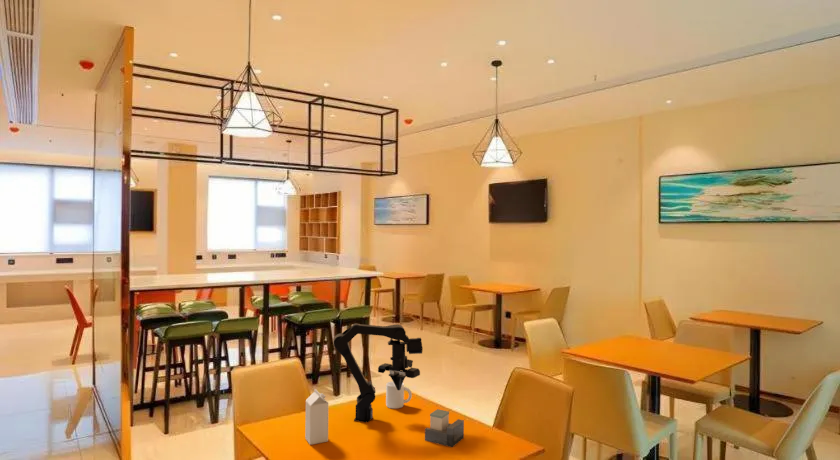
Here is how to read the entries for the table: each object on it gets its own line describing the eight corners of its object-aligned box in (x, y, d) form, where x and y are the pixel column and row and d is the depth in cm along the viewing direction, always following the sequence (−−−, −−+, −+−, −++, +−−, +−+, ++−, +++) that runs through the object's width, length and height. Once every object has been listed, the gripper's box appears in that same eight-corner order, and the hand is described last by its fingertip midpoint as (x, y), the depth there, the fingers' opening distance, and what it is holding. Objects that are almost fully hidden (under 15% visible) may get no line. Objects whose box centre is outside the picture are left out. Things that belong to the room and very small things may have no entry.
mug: (412, 403, 237) (412, 381, 237) (410, 409, 228) (411, 387, 228) (387, 402, 238) (387, 380, 238) (384, 408, 229) (385, 386, 229)
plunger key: (429, 435, 196) (430, 413, 196) (437, 429, 201) (437, 409, 201) (441, 437, 193) (441, 416, 193) (448, 432, 199) (449, 411, 199)
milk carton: (309, 445, 189) (310, 395, 189) (305, 438, 196) (305, 389, 196) (328, 441, 193) (328, 392, 193) (322, 435, 199) (323, 387, 199)
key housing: (424, 440, 195) (425, 422, 195) (436, 431, 204) (437, 414, 204) (452, 447, 189) (452, 428, 189) (463, 438, 198) (463, 420, 198)
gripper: (426, 353, 220) (426, 388, 220) (391, 348, 230) (391, 382, 230) (412, 358, 211) (413, 395, 211) (377, 353, 220) (377, 388, 220)
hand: (398, 390), depth 218 cm, fingers closed
